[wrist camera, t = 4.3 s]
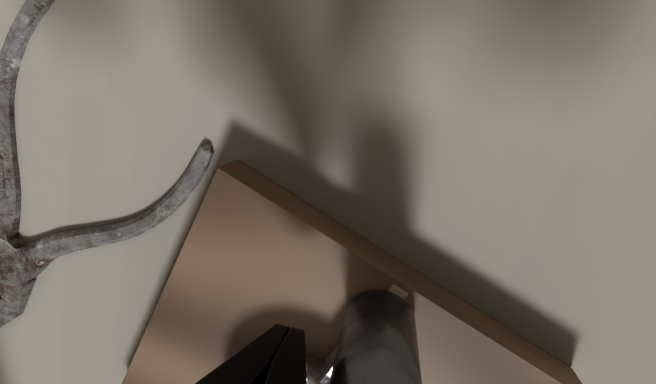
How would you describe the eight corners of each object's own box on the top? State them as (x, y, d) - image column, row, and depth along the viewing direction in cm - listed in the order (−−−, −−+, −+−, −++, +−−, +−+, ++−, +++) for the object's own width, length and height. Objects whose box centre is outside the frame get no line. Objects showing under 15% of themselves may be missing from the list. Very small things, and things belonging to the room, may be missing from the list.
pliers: (230, 115, 11) (75, 405, 18) (241, 114, 12) (89, 392, 19) (13, -44, 11) (-61, 307, 18) (38, -34, 12) (-41, 298, 19)
